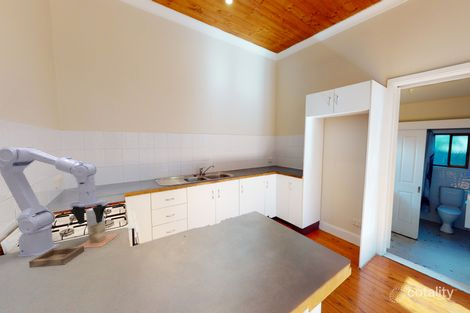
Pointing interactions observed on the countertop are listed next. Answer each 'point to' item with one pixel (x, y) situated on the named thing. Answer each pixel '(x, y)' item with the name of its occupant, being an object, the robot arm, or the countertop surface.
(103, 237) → the maple block
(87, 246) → the terracotta tile
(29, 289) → the countertop surface
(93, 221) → the skincare box
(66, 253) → the walnut pocket
